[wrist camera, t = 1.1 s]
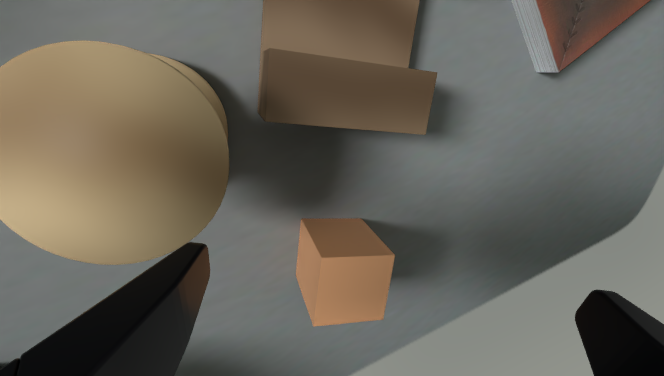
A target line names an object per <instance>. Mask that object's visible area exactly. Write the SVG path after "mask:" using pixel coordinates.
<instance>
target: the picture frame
mask: <svg viewBox="0 0 664 376" xmlns="http://www.w3.org/2000/svg"><path fill="white" fill-rule="evenodd" d="M511 1H512V4H513V6H514V9H515V12H516V15H517V18H518V21H519V24H520V27H521V29H522V32H523V35H524V38H525V41H526V44H527V47H528V50H529V53H530V55H531V58H532V61H533V64H534V67H535V70H536V72H560V71H561V70H563V69H564V68H565V67H566V66H568V65H569V64H570V63H572V62H573V61H574V60H575V59H577V58H578V57H579V56H580V55H582V54H583V53H584V52H586V51H587V50H588V49H589V48H591V47H592V46H593V45H594V44H596V43H597V42H598V41H599V40H601V39H602V38H603V37H605V36H606V35H607V34H608V33H610V32H611V31H612V30H613V29H615V28H616V27H617V26H619V25H620V24H621V23H622V22H624V21H625V20H626V19H627V18H629V17H630V16H631V15H633V14H634V13H635V12H636V11H638V10H639V9H640V8H641V7H643V6H644V5H645V4H646V3H648V2H649V1H650V0H511Z"/></svg>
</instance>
